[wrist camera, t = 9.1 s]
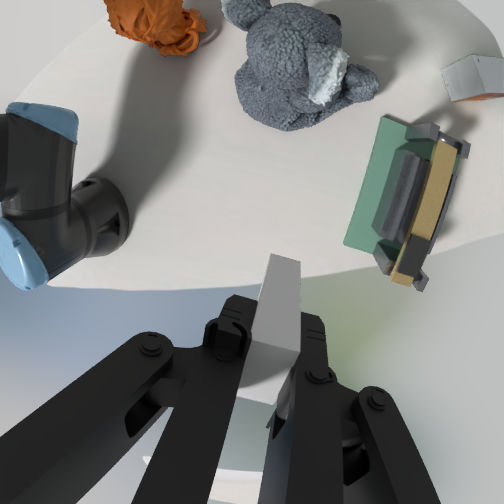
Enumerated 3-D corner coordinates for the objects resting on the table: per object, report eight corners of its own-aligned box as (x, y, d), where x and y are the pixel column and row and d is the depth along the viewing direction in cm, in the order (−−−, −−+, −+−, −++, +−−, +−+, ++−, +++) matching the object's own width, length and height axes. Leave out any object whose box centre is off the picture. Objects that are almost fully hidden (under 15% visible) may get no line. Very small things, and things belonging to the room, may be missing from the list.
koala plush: (381, 93, 32) (437, 55, 14) (287, 160, 39) (272, 169, 21) (304, 12, 29) (297, -64, 11) (214, 77, 36) (148, 35, 18)
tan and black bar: (435, 130, 26) (441, 129, 24) (456, 141, 25) (462, 141, 24) (387, 276, 33) (391, 282, 31) (408, 283, 33) (412, 289, 31)
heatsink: (399, 124, 33) (426, 118, 24) (442, 145, 33) (477, 147, 23) (360, 248, 41) (374, 277, 31) (403, 262, 40) (425, 292, 31)
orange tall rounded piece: (215, 4, 31) (168, -53, 14) (214, 57, 34) (158, 11, 18) (154, 18, 33) (91, -20, 16) (151, 68, 36) (78, 43, 20)
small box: (450, 102, 30) (485, 94, 20) (439, 69, 28) (471, 53, 18) (484, 101, 28) (520, 95, 18) (474, 70, 26) (508, 57, 16)
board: (380, 117, 34) (382, 116, 32) (456, 153, 32) (460, 153, 31) (343, 242, 41) (343, 244, 40) (417, 267, 40) (420, 270, 39)
